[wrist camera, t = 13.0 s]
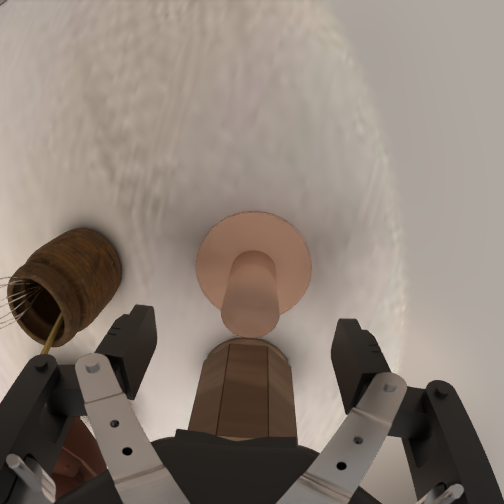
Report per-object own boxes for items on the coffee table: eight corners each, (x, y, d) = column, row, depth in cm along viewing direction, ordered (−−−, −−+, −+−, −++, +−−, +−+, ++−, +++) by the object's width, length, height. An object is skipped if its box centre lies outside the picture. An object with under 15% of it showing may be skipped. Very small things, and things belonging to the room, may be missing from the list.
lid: (199, 207, 19) (173, 237, 14) (315, 215, 19) (336, 248, 13) (199, 308, 22) (180, 363, 16) (301, 315, 22) (312, 372, 16)
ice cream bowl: (61, 327, 23) (-33, 449, 9) (155, 404, 26) (110, 543, 12) (31, 373, 26) (-35, 466, 12) (107, 434, 28) (65, 536, 14)
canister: (205, 334, 22) (179, 430, 14) (293, 340, 22) (305, 439, 14) (207, 393, 25) (189, 481, 16) (283, 398, 25) (287, 488, 16)
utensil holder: (108, 216, 19) (-18, 301, 8) (136, 298, 22) (57, 421, 10) (48, 234, 20) (-65, 310, 9) (77, 307, 22) (-7, 407, 11)
